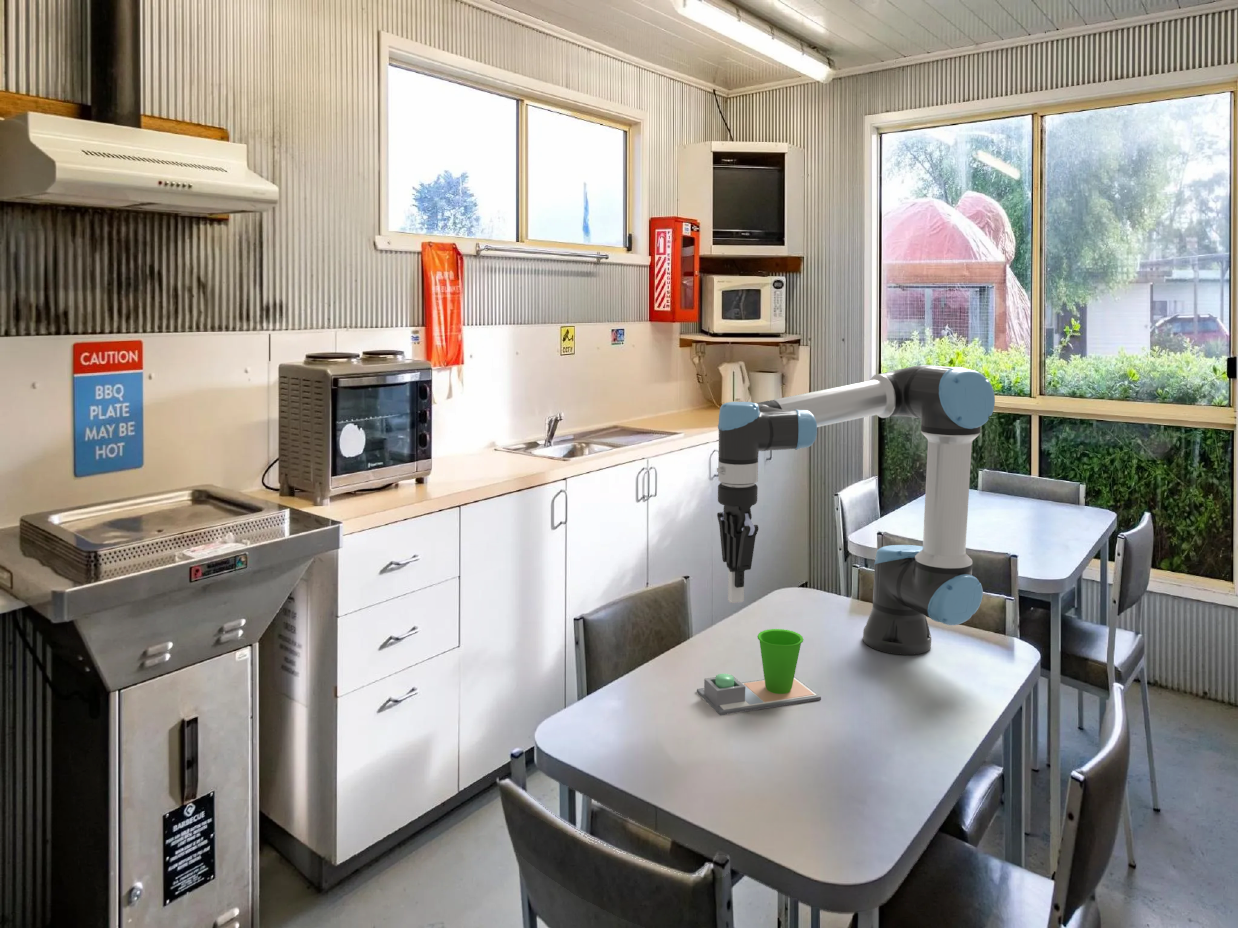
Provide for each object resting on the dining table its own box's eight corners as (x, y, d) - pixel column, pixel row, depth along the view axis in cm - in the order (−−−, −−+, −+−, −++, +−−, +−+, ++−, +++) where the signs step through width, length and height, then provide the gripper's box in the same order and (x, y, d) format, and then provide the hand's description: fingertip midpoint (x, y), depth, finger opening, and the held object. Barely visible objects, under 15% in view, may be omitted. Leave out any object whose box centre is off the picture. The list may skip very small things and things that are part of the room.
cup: (801, 699, 174) (803, 646, 172) (754, 696, 176) (756, 643, 174) (801, 681, 183) (803, 630, 181) (756, 677, 184) (758, 627, 182)
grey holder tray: (792, 677, 186) (793, 660, 186) (820, 699, 176) (821, 681, 176) (696, 691, 179) (697, 673, 179) (720, 715, 169) (720, 696, 169)
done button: (728, 686, 177) (729, 672, 177) (736, 694, 174) (737, 679, 173) (712, 689, 176) (712, 674, 176) (720, 696, 173) (720, 682, 172)
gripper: (705, 478, 175) (704, 593, 179) (735, 491, 162) (733, 614, 167) (739, 475, 177) (737, 589, 181) (771, 488, 165) (769, 609, 169)
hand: (735, 601), depth 174 cm, fingers closed
